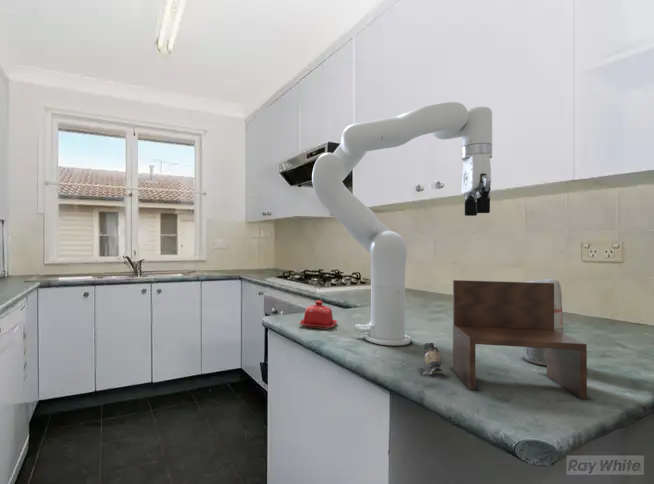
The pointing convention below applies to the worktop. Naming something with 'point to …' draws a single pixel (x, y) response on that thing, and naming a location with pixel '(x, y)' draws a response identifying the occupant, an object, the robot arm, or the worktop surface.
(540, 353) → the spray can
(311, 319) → the butter dish
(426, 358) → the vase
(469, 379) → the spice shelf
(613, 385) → the worktop surface
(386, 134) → the robot arm
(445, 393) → the worktop surface
